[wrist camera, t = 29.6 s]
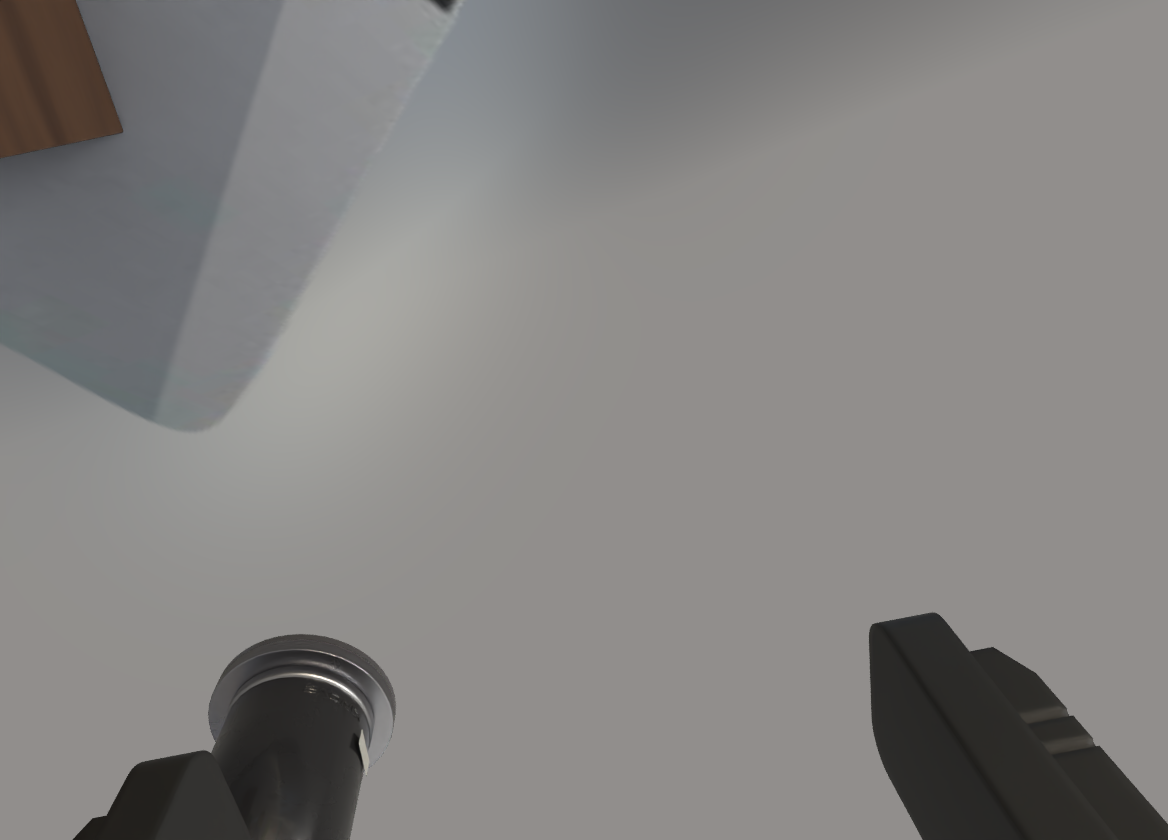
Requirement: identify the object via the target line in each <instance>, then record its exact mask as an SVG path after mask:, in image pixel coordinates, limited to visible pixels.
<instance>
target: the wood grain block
mask: <svg viewBox="0 0 1168 840" xmlns="http://www.w3.org/2000/svg"><path fill="white" fill-rule="evenodd" d="M122 132H123V129H122V126H121V124H120V121H119V118H118V115H117V113H116V110H115V107H114V104H113V102H112V99H111V96H110V94H109V91H108V88H107V85H106V83H105V80H104V77H103V74H102V72H101V69H100V66H99V63H98V61H97V58H96V55H95V52H94V50H93V47H92V44H91V41H90V39H89V36H88V33H87V30H86V28H85V25H84V22H83V19H82V17H81V14H80V11H79V8H78V6H77V3H76V0H0V158H4V157H9V156H14V155H19V154H24V153H28V152H33V151H38V150H43V149H47V148H52V147H57V146H62V145H66V144H71V143H76V142H81V141H85V140H90V139H95V138H100V137H104V136H109V135H114V134H119V133H122Z"/></svg>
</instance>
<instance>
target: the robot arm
mask: <svg viewBox="0 0 1168 840" xmlns="http://www.w3.org/2000/svg"><path fill="white" fill-rule="evenodd" d="M869 652H870V680H871V710H872V725H873V732H874V736H875V740H876V745H877V747H878V751H879V754H880V757H881V760H882V762H883V765H884V768H885V770H886V772H887V774H888V776H889V778H890V780H891V781H892V783H893V785H894V787H895V789H896V791H897V793H898V795H899V797H900V798H901V800H902V802H903V804H904V806H905V807H906V809H907V811H908V813H909V815H910V817H911V819H912V820H913V822H914V824H915V826H916V828H917V830H918V832H919V834H920V835H921V837H922V839H923V840H1168V824H1167V823H1166V821H1165V820H1164V819H1163V818H1162V817H1161V816H1160V815H1159V813H1158V812H1157V811H1156V810H1155V809H1154V808H1153V807H1152V805H1151V804H1150V803H1149V802H1148V801H1147V800H1146V799H1145V797H1144V796H1143V795H1142V794H1141V793H1140V792H1139V791H1138V790H1137V788H1136V787H1135V786H1134V785H1133V784H1132V783H1131V781H1130V780H1129V779H1128V778H1127V777H1126V776H1125V775H1124V773H1123V772H1122V771H1121V770H1120V769H1119V768H1118V767H1117V765H1116V764H1115V763H1114V762H1113V761H1112V760H1111V759H1110V757H1108V755H1107V754H1106V753H1105V752H1104V750H1103V749H1102V748H1101V747H1100V746H1095V744H1094V742H1093V738H1092V737H1091V736H1090V734H1089V733H1088V732H1087V731H1086V730H1085V729H1084V728H1083V727H1082V725H1081V724H1080V723H1079V722H1078V721H1077V720H1076V719H1075V717H1074V716H1069V714H1068V712H1067V708H1066V707H1065V706H1064V705H1063V704H1062V703H1061V701H1060V700H1059V699H1058V698H1057V697H1056V696H1055V694H1054V693H1053V692H1052V691H1051V690H1050V689H1049V688H1048V686H1047V685H1046V684H1045V683H1044V682H1043V681H1042V679H1041V678H1040V677H1039V676H1038V675H1037V674H1036V673H1035V672H1033V671H1031V670H1030V669H1028V668H1026V667H1025V666H1023V665H1021V664H1020V663H1018V662H1017V661H1015V660H1013V659H1012V658H1010V657H1008V656H1007V655H1005V654H1003V653H1002V652H1000V651H999V650H997V649H995V648H994V647H991V648H986V649H981V650H975V651H970V652H969V651H968V649H967V648H966V647H965V645H964V644H963V643H962V642H961V640H960V639H959V638H958V636H957V635H956V634H955V633H954V631H953V630H952V629H951V628H950V626H949V625H948V624H947V623H946V622H945V620H944V619H943V618H942V617H941V616H940V615H938V614H937V613H927V614H922V615H917V616H911V617H906V618H901V619H896V620H890V621H885V622H880V623H875V624H872V626H871V628H870V632H869ZM373 729H374V718H373V713H372V710H371V707H370V705H369V703H368V701H367V699H366V698H365V696H364V695H363V694H362V693H361V692H360V690H359V689H358V688H356V687H355V686H354V685H353V684H352V683H350V682H349V681H347V680H346V679H344V678H343V677H341V676H339V675H337V674H334V673H332V672H329V671H326V670H323V669H319V668H314V667H307V666H287V667H280V668H276V669H272V670H269V671H266V672H263V673H261V674H259V675H257V676H255V677H253V678H252V679H250V680H249V681H247V682H246V683H245V684H244V685H243V686H242V687H241V688H240V689H239V690H238V691H237V693H236V694H235V696H234V697H233V699H232V702H231V704H230V706H229V709H228V711H227V713H226V717H225V721H224V725H223V727H222V729H221V732H220V734H219V736H218V739H217V741H216V743H215V745H214V748H213V750H212V753H210V752H208V751H197V752H192V753H187V754H181V755H176V756H171V757H166V758H160V759H155V760H150V761H145V762H141V763H139V764H137V765H136V766H135V767H134V768H133V769H132V770H131V771H130V773H129V774H128V776H127V778H126V780H125V782H124V784H123V786H122V787H121V789H120V791H119V793H118V795H117V797H116V799H115V801H114V802H113V804H112V806H111V808H110V810H109V812H108V814H107V816H103V817H97V818H93V819H92V820H91V821H90V822H89V823H88V824H87V825H86V826H85V827H84V828H83V829H82V830H81V831H80V832H79V833H78V834H77V835H76V837H75V838H74V839H73V840H350V835H351V830H352V825H353V820H354V815H355V810H356V805H357V800H358V795H359V790H360V785H361V780H362V776H363V771H364V768H365V773H366V776H367V771H368V766H369V757H368V753H367V752H368V750H369V747H370V744H371V740H372V735H373Z"/></svg>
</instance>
